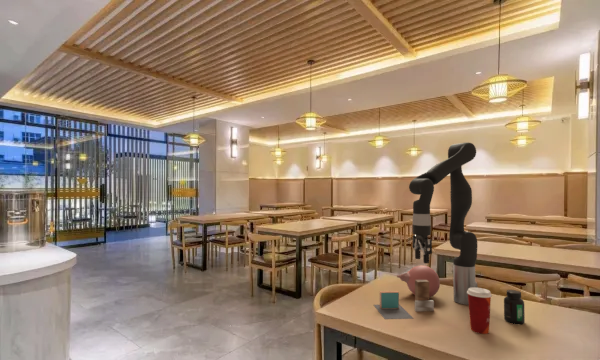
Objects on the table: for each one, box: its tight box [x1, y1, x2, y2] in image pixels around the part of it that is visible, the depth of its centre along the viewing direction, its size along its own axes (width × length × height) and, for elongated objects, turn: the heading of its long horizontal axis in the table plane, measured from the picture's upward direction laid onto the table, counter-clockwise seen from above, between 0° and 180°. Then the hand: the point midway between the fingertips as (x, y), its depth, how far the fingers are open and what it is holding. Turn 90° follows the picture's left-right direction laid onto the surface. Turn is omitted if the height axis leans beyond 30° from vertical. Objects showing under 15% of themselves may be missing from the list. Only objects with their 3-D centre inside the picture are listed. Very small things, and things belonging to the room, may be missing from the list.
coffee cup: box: [467, 287, 493, 335], centre depth 120 cm, size 8×8×15 cm
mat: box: [373, 303, 415, 320], centre depth 136 cm, size 12×16×1 cm
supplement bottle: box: [503, 289, 526, 326], centre depth 128 cm, size 7×7×12 cm
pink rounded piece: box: [396, 264, 441, 298], centre depth 157 cm, size 15×20×15 cm
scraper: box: [414, 280, 435, 312], centre depth 138 cm, size 8×4×13 cm, turn 93°
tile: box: [379, 290, 400, 309], centre depth 140 cm, size 8×2×7 cm, turn 93°
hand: (421, 261), depth 139 cm, fingers open, 8 cm apart
